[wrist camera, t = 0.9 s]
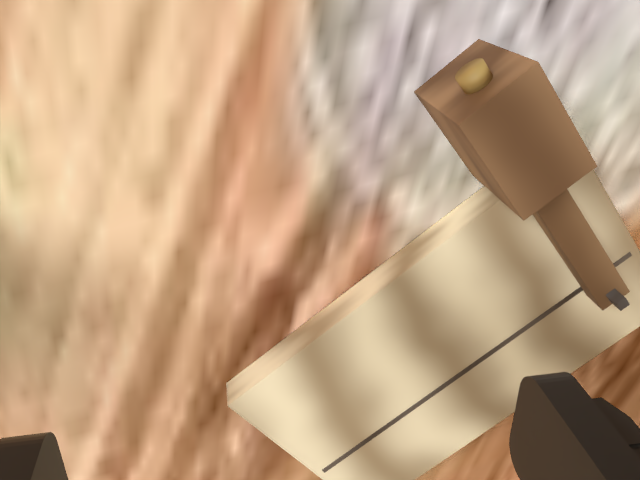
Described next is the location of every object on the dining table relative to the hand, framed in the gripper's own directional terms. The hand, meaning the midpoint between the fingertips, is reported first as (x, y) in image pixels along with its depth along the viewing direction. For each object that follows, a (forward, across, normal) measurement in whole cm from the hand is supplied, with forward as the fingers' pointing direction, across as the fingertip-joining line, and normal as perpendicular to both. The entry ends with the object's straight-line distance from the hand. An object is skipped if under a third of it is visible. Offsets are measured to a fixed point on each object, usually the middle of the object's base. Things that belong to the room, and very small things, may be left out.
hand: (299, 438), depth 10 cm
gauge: (+22, -15, +4) cm, 27 cm away
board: (+21, -12, +15) cm, 29 cm away
